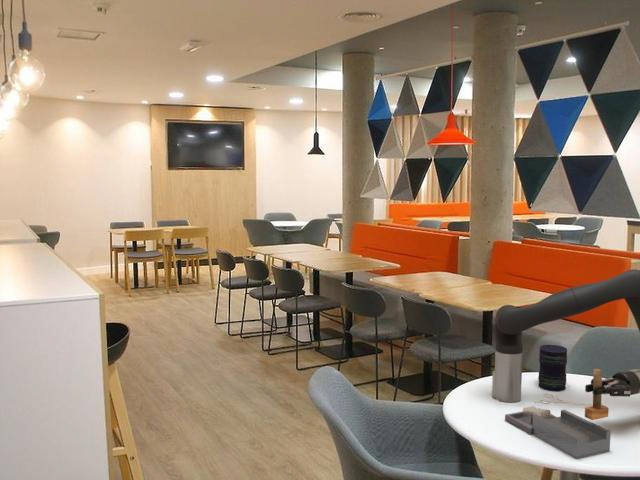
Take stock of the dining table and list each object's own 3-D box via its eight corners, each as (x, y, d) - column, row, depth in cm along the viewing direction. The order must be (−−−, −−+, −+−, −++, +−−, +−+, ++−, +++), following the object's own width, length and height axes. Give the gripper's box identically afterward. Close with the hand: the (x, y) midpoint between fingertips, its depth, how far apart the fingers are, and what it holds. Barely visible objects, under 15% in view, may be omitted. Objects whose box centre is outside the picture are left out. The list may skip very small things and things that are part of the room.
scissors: (539, 392, 229) (599, 401, 219) (539, 394, 229) (599, 403, 219) (533, 401, 220) (595, 411, 210) (533, 404, 220) (595, 413, 210)
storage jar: (571, 390, 231) (573, 351, 230) (547, 392, 229) (549, 352, 228) (556, 381, 241) (557, 343, 239) (532, 383, 239) (534, 345, 237)
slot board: (532, 434, 193) (532, 415, 193) (563, 427, 198) (564, 409, 197) (576, 458, 177) (577, 438, 176) (609, 451, 181) (610, 431, 181)
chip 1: (531, 424, 200) (522, 419, 204) (541, 422, 201) (532, 417, 205) (531, 412, 199) (523, 407, 203) (541, 410, 201) (533, 406, 205)
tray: (505, 420, 204) (505, 414, 204) (539, 414, 209) (539, 408, 209) (530, 434, 193) (530, 428, 193) (565, 427, 198) (565, 421, 198)
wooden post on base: (584, 416, 195) (586, 370, 194) (600, 413, 198) (602, 367, 196) (592, 420, 192) (593, 372, 191) (608, 416, 195) (609, 370, 193)
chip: (533, 423, 199) (531, 410, 199) (543, 421, 200) (541, 408, 201) (542, 424, 195) (539, 411, 196) (552, 422, 197) (550, 409, 197)
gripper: (614, 364, 205) (573, 371, 199) (650, 377, 193) (608, 385, 186) (613, 386, 206) (572, 394, 200) (649, 400, 193) (607, 409, 187)
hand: (590, 390), depth 193 cm, fingers closed on wooden post on base, 2 cm apart
